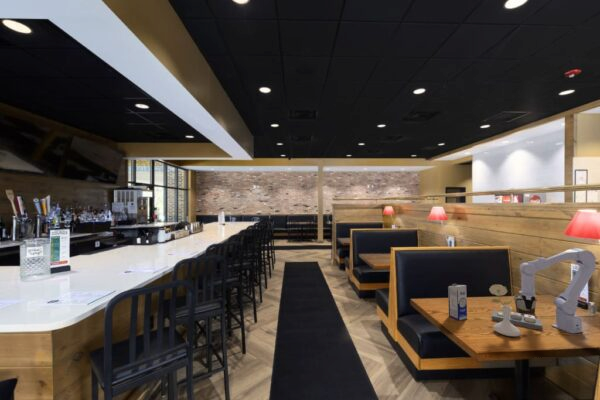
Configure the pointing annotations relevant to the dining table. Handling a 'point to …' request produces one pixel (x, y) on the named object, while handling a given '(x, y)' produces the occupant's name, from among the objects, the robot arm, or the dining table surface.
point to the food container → (523, 305)
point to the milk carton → (457, 302)
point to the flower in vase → (505, 325)
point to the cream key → (529, 318)
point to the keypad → (518, 321)
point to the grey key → (516, 315)
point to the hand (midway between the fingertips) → (528, 309)
